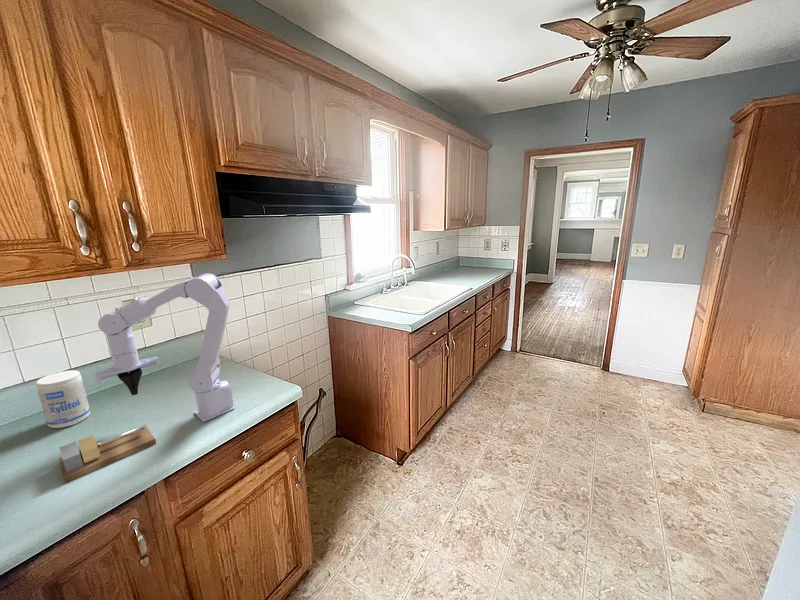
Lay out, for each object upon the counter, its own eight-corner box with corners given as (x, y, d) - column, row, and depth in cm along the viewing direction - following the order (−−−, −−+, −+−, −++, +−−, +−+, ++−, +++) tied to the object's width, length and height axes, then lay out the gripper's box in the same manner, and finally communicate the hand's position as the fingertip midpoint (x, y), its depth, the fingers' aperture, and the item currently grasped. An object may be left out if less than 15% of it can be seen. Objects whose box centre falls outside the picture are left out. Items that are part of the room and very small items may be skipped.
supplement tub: (55, 433, 96) (40, 388, 92) (43, 424, 100) (28, 380, 97) (97, 415, 104) (85, 373, 100) (84, 408, 109) (72, 367, 105)
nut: (95, 444, 88) (93, 435, 87) (100, 456, 83) (97, 446, 82) (80, 450, 85) (77, 440, 85) (84, 463, 81) (81, 453, 80)
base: (146, 428, 97) (142, 414, 96) (156, 443, 91) (152, 427, 90) (60, 463, 84) (55, 446, 83) (65, 483, 78) (59, 465, 76)
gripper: (150, 340, 103) (159, 380, 106) (88, 356, 92) (100, 399, 96) (157, 346, 99) (165, 387, 102) (92, 362, 88) (104, 407, 91)
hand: (134, 393), depth 99 cm, fingers closed
